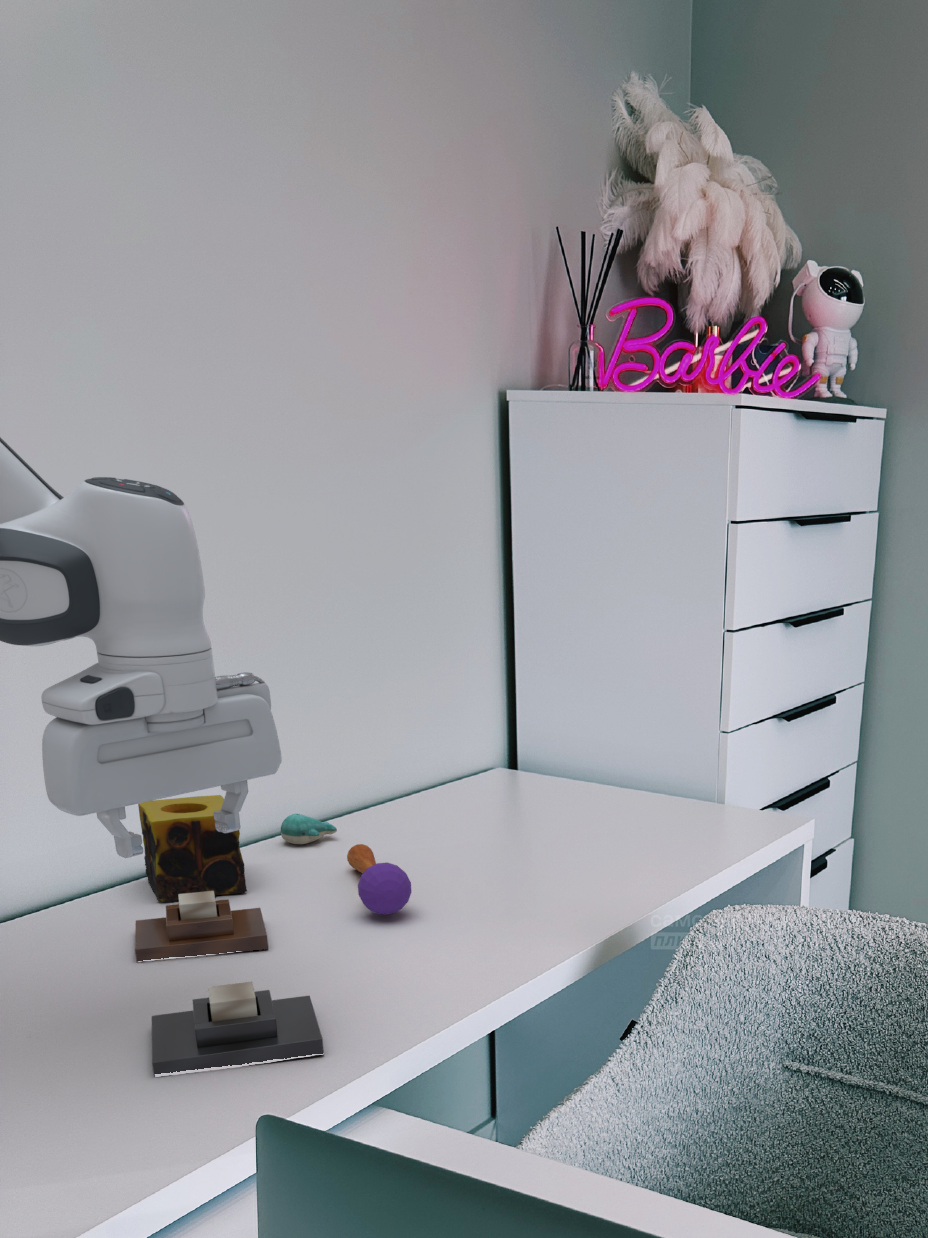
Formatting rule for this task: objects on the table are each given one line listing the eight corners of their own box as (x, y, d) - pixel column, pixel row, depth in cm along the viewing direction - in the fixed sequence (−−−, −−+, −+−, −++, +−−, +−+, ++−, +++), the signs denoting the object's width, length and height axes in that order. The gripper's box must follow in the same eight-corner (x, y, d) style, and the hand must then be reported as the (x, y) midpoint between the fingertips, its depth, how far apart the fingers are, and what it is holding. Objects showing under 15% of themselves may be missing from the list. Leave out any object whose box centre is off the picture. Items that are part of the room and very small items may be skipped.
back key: (181, 923, 133) (179, 904, 132) (180, 911, 136) (178, 894, 135) (217, 919, 134) (215, 901, 133) (215, 908, 137) (213, 890, 136)
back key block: (137, 964, 130) (132, 933, 128) (137, 934, 137) (133, 904, 136) (268, 949, 134) (265, 919, 133) (261, 921, 142) (258, 892, 141)
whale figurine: (274, 838, 171) (272, 811, 170) (325, 830, 176) (324, 804, 174) (291, 849, 167) (289, 821, 166) (343, 841, 172) (342, 814, 170)
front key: (212, 1024, 110) (209, 1003, 109) (210, 1007, 113) (207, 986, 112) (257, 1018, 111) (255, 997, 111) (254, 1001, 115) (252, 981, 114)
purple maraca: (387, 836, 160) (419, 872, 143) (380, 881, 162) (411, 922, 144) (339, 831, 158) (366, 866, 140) (333, 877, 159) (359, 917, 141)
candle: (248, 894, 151) (241, 814, 147) (158, 904, 146) (149, 822, 142) (230, 869, 159) (224, 793, 155) (145, 879, 154) (136, 800, 150)
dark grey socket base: (154, 1080, 107) (149, 1043, 105) (153, 1032, 115) (148, 997, 114) (324, 1055, 112) (320, 1020, 110) (311, 1011, 120) (308, 977, 119)
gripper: (245, 665, 114) (261, 811, 119) (20, 696, 99) (49, 862, 104) (287, 673, 111) (302, 823, 116) (61, 706, 95) (89, 878, 100)
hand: (181, 842), depth 110 cm, fingers open, 8 cm apart
